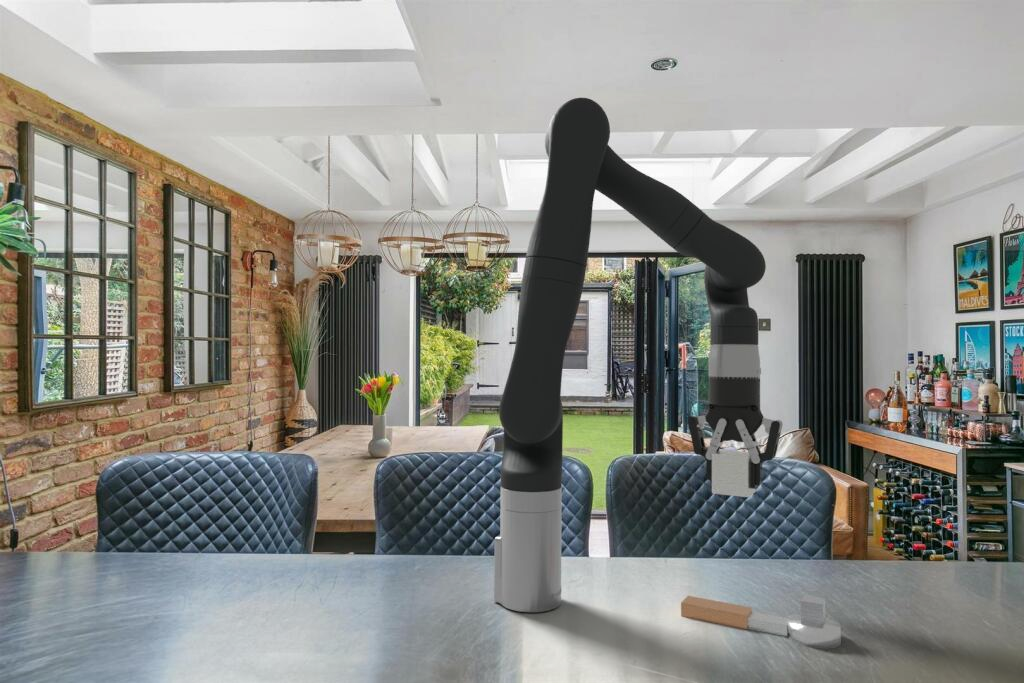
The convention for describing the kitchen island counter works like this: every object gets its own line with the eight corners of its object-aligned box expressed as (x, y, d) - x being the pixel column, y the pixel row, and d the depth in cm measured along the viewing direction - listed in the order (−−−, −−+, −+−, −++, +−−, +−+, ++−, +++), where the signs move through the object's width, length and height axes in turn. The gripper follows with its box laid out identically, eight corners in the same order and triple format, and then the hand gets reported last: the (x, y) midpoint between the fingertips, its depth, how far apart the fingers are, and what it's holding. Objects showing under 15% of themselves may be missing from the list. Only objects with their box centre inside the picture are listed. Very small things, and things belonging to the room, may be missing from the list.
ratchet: (677, 619, 92) (677, 583, 93) (690, 605, 98) (690, 571, 98) (838, 653, 82) (838, 612, 82) (843, 635, 87) (842, 597, 88)
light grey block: (711, 493, 100) (711, 453, 100) (720, 488, 104) (720, 449, 105) (748, 497, 97) (748, 456, 97) (755, 491, 102) (755, 452, 102)
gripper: (680, 374, 102) (680, 484, 101) (779, 375, 95) (780, 495, 94) (694, 373, 108) (693, 477, 108) (788, 375, 101) (788, 487, 100)
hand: (734, 485), depth 101 cm, fingers closed on light grey block, 5 cm apart
